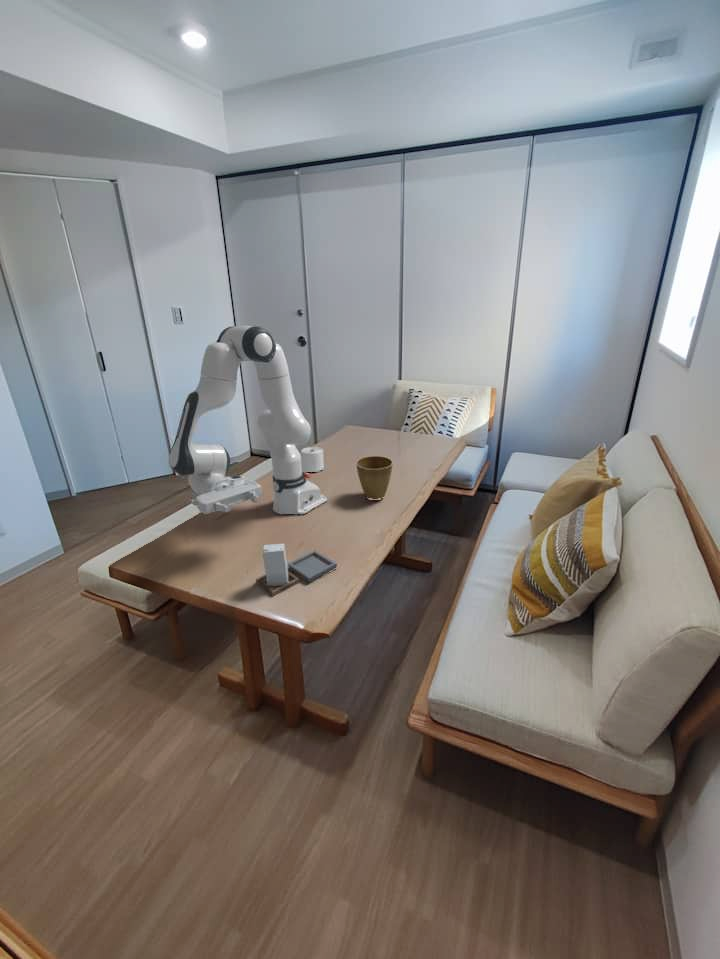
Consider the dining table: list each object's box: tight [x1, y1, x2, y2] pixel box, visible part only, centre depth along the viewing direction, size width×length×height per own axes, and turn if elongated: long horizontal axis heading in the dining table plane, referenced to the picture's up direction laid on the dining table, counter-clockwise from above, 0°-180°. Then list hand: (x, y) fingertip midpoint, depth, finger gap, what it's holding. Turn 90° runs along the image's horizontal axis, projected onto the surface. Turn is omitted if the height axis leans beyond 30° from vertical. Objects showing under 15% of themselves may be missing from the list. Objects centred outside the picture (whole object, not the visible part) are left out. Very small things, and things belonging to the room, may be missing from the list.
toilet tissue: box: [300, 446, 325, 472], centre depth 206 cm, size 11×12×10 cm
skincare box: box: [261, 543, 289, 587], centre depth 123 cm, size 6×4×12 cm
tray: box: [287, 550, 338, 585], centre depth 131 cm, size 11×11×2 cm
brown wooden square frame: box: [255, 570, 300, 597], centre depth 125 cm, size 9×9×1 cm
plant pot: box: [355, 455, 393, 499], centre depth 175 cm, size 15×15×16 cm
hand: (242, 504), depth 127 cm, fingers open, 8 cm apart
